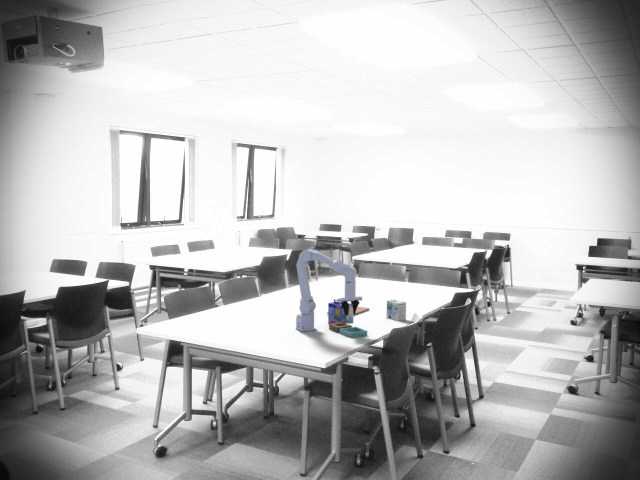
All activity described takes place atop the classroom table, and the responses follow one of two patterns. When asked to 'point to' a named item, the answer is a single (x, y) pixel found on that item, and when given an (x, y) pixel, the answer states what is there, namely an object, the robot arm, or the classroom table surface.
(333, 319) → the ink cartridge box
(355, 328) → the tray
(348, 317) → the steel pin
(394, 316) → the light bulb box
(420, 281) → the classroom table surface
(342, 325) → the hitch block
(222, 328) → the classroom table surface
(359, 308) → the notebook
